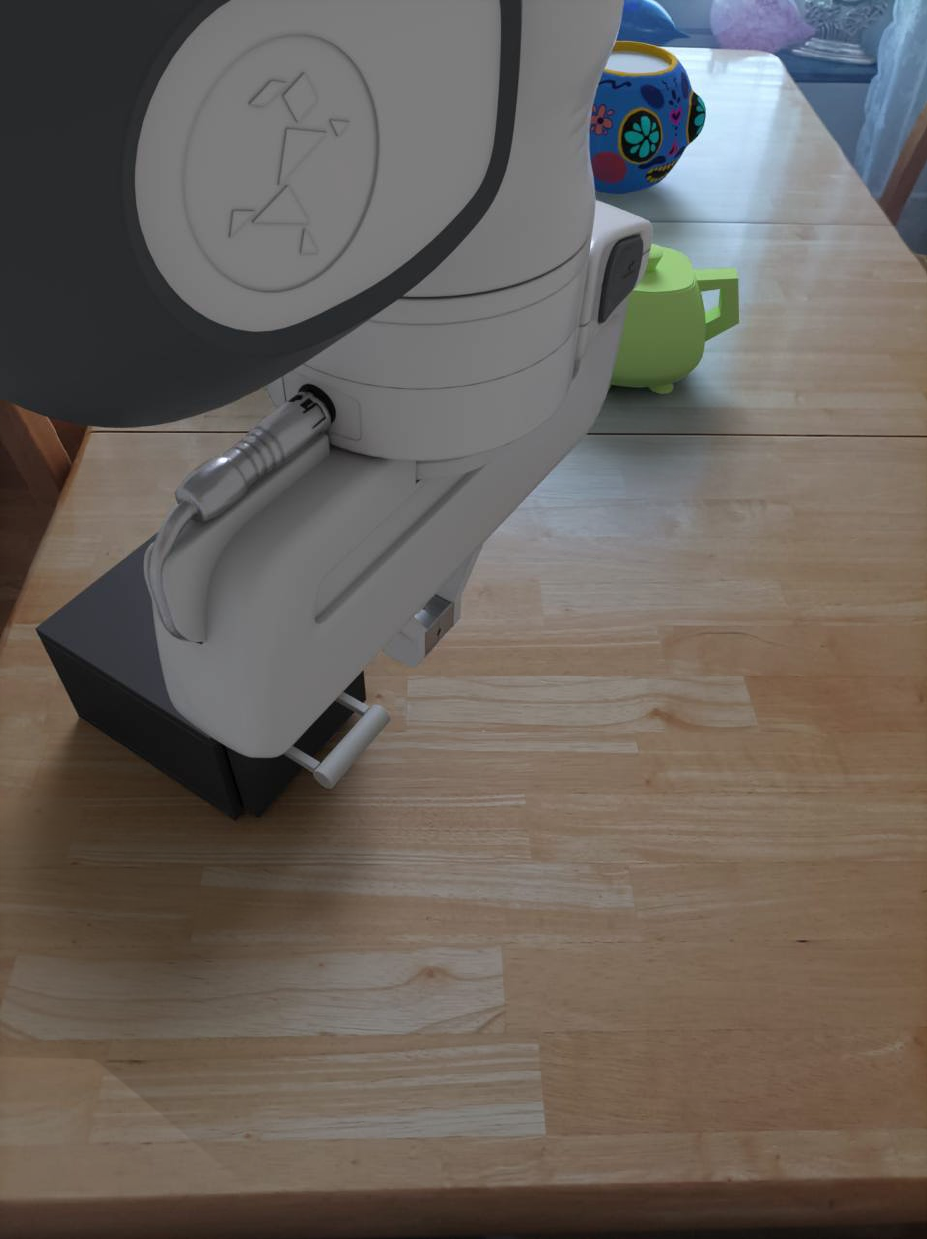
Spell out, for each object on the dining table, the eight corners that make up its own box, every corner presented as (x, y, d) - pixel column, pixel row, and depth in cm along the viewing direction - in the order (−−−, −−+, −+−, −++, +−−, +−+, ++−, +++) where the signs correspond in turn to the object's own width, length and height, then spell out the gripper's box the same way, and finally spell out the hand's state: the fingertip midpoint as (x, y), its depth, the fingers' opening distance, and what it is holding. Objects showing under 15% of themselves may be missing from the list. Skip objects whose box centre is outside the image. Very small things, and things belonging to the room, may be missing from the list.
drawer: (416, 727, 64) (414, 657, 58) (310, 854, 58) (296, 789, 52) (223, 617, 70) (204, 543, 65) (108, 721, 64) (75, 650, 58)
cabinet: (355, 691, 67) (345, 602, 60) (235, 821, 60) (209, 739, 53) (205, 606, 72) (179, 514, 65) (78, 717, 65) (34, 628, 58)
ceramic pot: (616, 230, 114) (636, 98, 102) (516, 178, 122) (524, 50, 111) (708, 190, 121) (736, 62, 110) (608, 144, 130) (625, 21, 118)
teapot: (528, 404, 90) (539, 283, 81) (524, 327, 99) (534, 210, 90) (734, 410, 90) (770, 290, 81) (712, 333, 99) (742, 217, 90)
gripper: (245, 588, 19) (309, 892, 29) (679, 208, 30) (614, 523, 40) (31, 468, 21) (162, 791, 31) (512, 156, 32) (491, 468, 43)
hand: (420, 637), depth 36 cm, fingers closed
